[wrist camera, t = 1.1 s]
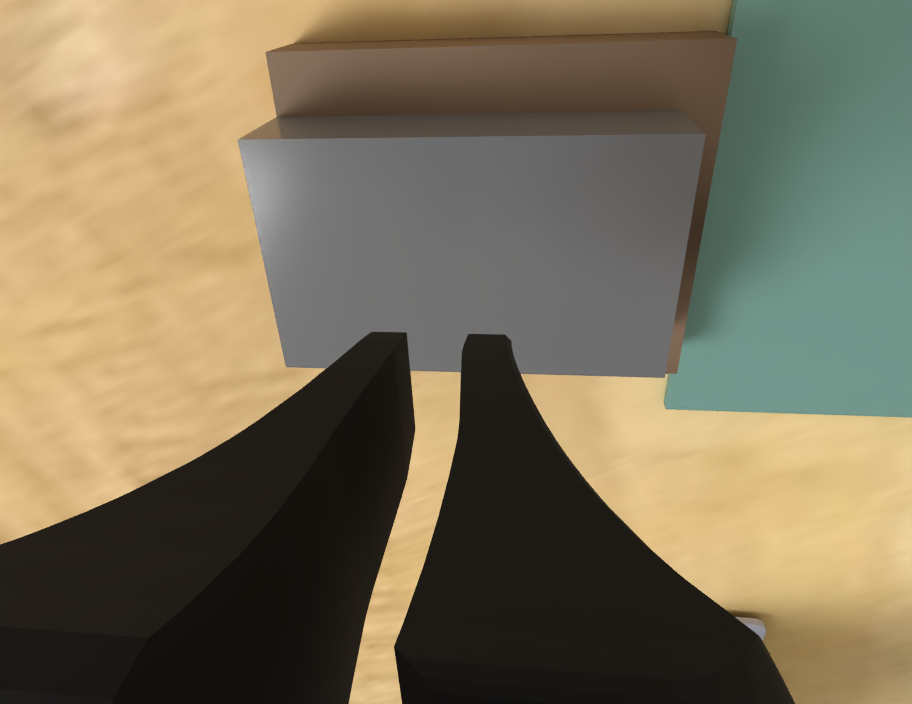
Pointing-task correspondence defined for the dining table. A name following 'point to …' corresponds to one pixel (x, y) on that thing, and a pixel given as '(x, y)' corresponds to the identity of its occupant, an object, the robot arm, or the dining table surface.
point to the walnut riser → (523, 90)
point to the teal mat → (808, 218)
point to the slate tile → (478, 234)
